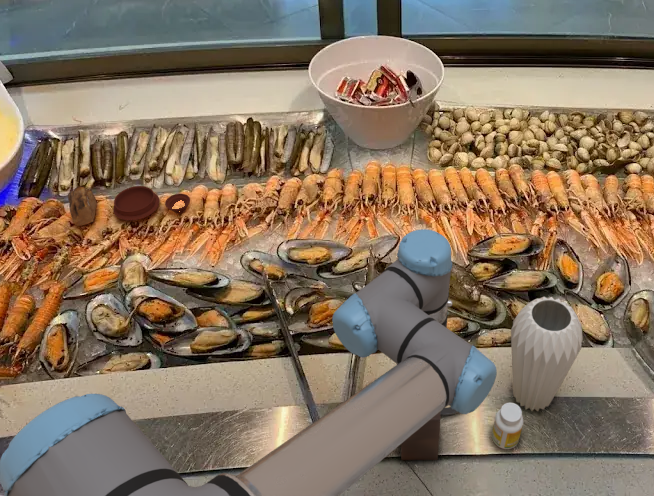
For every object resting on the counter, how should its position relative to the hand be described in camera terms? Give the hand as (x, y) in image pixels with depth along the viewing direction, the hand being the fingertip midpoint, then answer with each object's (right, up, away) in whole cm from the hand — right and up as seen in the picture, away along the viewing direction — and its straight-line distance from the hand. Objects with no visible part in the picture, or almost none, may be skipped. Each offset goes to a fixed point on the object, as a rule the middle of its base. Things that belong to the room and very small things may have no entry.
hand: (420, 395), depth 118 cm
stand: (0, -13, +12) cm, 17 cm away
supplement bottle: (+17, -12, +13) cm, 24 cm away
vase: (+23, -5, +20) cm, 31 cm away
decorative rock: (-87, +31, +57) cm, 109 cm away
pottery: (-71, +33, +59) cm, 98 cm away
